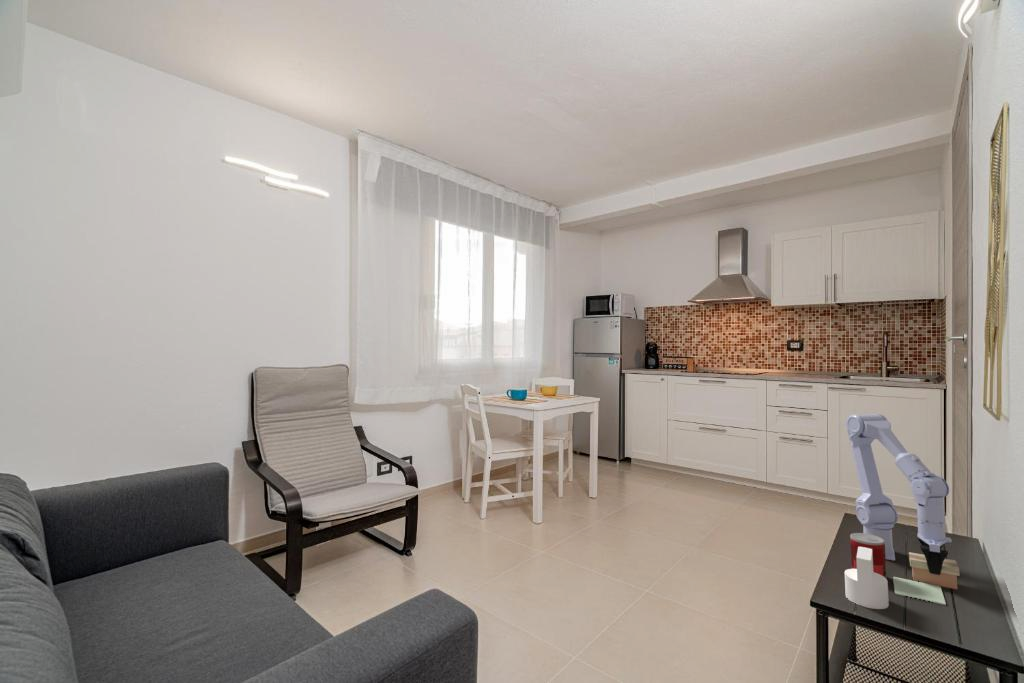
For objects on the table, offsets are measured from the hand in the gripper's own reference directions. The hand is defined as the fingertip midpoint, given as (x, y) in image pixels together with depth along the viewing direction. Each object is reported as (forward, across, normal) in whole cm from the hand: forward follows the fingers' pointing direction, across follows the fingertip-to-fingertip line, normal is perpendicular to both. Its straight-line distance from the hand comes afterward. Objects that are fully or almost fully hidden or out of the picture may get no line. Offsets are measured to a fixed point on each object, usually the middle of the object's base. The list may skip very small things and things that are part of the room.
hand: (933, 569), depth 130 cm
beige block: (-1, 0, 0) cm, 1 cm away
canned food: (+4, -6, +14) cm, 16 cm away
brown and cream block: (+3, 0, 0) cm, 3 cm away
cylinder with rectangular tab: (+4, -22, +15) cm, 27 cm away
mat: (+3, -9, +4) cm, 10 cm away
